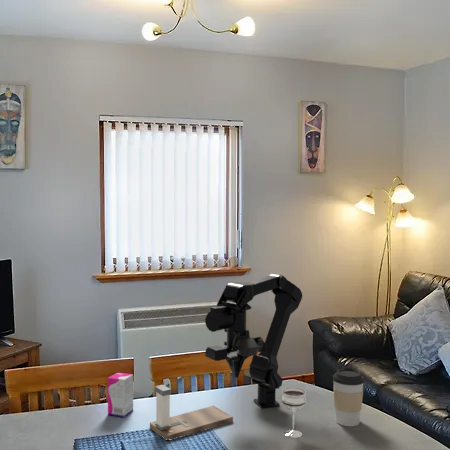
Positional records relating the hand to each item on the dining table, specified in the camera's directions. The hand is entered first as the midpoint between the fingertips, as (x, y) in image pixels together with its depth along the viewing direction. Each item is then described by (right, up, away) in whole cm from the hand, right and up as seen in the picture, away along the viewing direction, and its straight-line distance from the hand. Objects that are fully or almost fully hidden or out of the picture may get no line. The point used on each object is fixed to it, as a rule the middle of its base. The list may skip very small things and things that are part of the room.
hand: (235, 377), depth 161 cm
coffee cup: (+33, -13, -2) cm, 35 cm away
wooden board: (-13, -12, -5) cm, 19 cm away
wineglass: (+16, -13, -10) cm, 23 cm away
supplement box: (-35, -12, +3) cm, 37 cm away
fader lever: (-21, -11, -11) cm, 26 cm away
